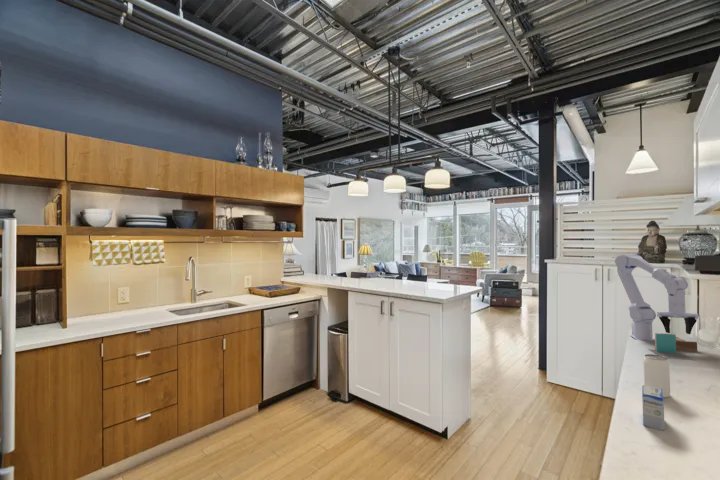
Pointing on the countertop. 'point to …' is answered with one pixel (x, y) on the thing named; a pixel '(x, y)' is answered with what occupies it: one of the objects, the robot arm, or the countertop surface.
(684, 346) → the wooden t-shaped piece
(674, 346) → the tile
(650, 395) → the medicine box
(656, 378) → the can
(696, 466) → the countertop surface
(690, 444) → the countertop surface
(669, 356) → the mat
